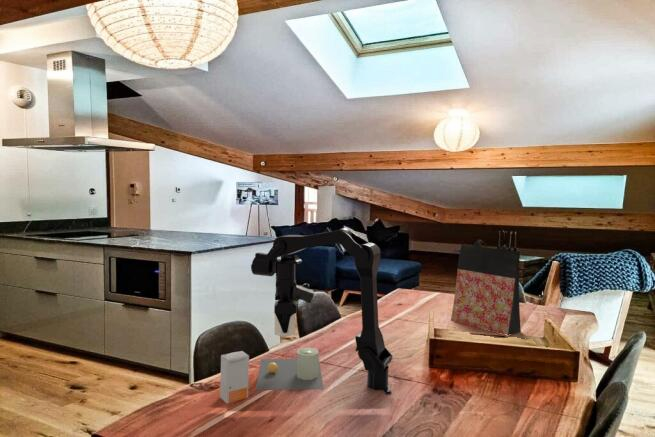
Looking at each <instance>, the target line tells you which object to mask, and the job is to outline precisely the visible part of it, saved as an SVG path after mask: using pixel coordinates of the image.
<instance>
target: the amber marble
mask: <svg viewBox="0 0 655 437" xmlns="http://www.w3.org/2000/svg"><path fill="white" fill-rule="evenodd" d="M267 369H268V371H269V372H270V373H275V372H277V370H278V366H277V364H276V363H273V362H272V363H270V364H269V365H268V367H267Z"/></svg>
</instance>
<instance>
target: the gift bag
mask: <svg viewBox="0 0 655 437" xmlns="http://www.w3.org/2000/svg"><path fill="white" fill-rule="evenodd" d="M481 242H482V243H483V244H484V245H485V246H482V243H481ZM453 253H459V254H458V260H457V263H458V264H457V272H456V279H455V280H456V282H455V288H454V289H455V291H454V297H453V298H454V299H453V306H452V311H451V312H452V313H451V317H450V318H451V319H450V321H451V322H457V323H460V324H462V325H467V326H469V327H473V328H478V329H480V328H481V329H480V330H484V329H486V330H485V331H487V330H490V331H489V332H491V331H494V332H498V333H502V334H507V335H509V334H513V335H515V334H517V332H518V333H520V332H521V331H522V328H521V315H520V314H521V313H520V312H521V311H520V310H521V309H520V258H521V251H518V250H509V249H507V244H504V245H501V246H498V247H497V248H492V247H488V246H487V245H486V243H485V242H484V241H483V240H482V239H478V240H476V242H474V244H473V245H468V244H461V245H460V249H456V248H453ZM494 332H493V333H494ZM498 333H497V334H498ZM514 333H515V334H514Z"/></svg>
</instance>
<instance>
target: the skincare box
mask: <svg viewBox="0 0 655 437" xmlns="http://www.w3.org/2000/svg"><path fill="white" fill-rule="evenodd" d="M249 368H250V355H249V354H248V353H246V352H244V351H243V350H240V351H234V352H230V353H226V354H221V355H220V385H219V387H220V388H219V390H220V391H219V392H220V393H219V395H220V396H219V398H220V399H221V400H222V401H223V402H225V403H226V404H230V403H234V402H237V401H240V400H244V399H248V398H249V371H250V370H249Z"/></svg>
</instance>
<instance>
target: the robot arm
mask: <svg viewBox="0 0 655 437" xmlns="http://www.w3.org/2000/svg"><path fill="white" fill-rule="evenodd" d="M335 244H339V245H341V247H342V248H343V249H344V250H345V251H346V252H347V253H348V254H349V255H350V256H352V257H353V261H354V266H355V269H356V271H357V274H358V276H359V279H360V280H359V281H360V301H361V302H360V304H361V324H362V326H361V328H362V330H361V331H360V332H359V333H357V335H356V336H355V342H356V343H355V344H356V346H355V347H356V348H355V352H357V355H358V358H359V360H361V361H362V363H363V364H362V365H363V367H364V369H365V370H364V371H367V376H366V377H367V378H366V379H367V380H366V386H367V387H368V388H369V389H371V390H373V391H383V393H384V394H392V389H391V387H390V385H389V369H390V368H389V367H390V366H389V364H390V363H391V362H392V359H393V354H391V352H390V351H389V349H388V348H387V347H386V344H385V340H384V336H383V334H382V331H381V329H380V326H379V308H378V288H377V287H378V286H377V285H378V284H377V283H378V282H377V276H378V271H379V267H380V263H381V248H380V247H379V246H378V245H377V244H376V243H373V242H369V241H368V240H366V239H365V238H363V237H361V236H359V234H358V235H357V234H356V233H354V232H353V231H352V230H350V229H349V228H347V227H346V228H345V227H343V228H338V229H337V230H333V231H332V230H331V231H327V232H321V233H315V234H309V235H302V234H301V235H300V234H287V235H281V236H277V237H275V238H274V241H273V242H272V247H271V248H270V249H269V251H268V253H264V252H256V253H255V254H254V258H253V260H252V263H251V264H250V270H251V273H252V274H253V275H254V276H264V277H273V276H274V275H275V293H274V301H275V303H274V305H273V307H274V311H273V313H274V315H275V314H276V316H277V319H278V321H279V324H280V326H281V329H282V331H283V333H287V331H288V326H289V322H290V317H291V316H292V315H293V314H295V315H296V314H297V309H298V308H297V307H298V306H297V302H295V301H297V299H298V300H300V301H304V302H306V303H307V304H311V303H312V301H313V298H314V296H315V292H314V291H315V290H313V289H311V288H310V284H309V283H303V284H302V285H298V284H297V280H296V265H298V264H301V263H303V260H302V259H301V258H300V257H299V256H298V254H295V253H298V252H301V251H303V250H305V249H311V248H317V247H324V246H328V245H329V246H330V245H335ZM292 254H293V255H292ZM294 254H295V255H294ZM288 255H292V256H288Z"/></svg>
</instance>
